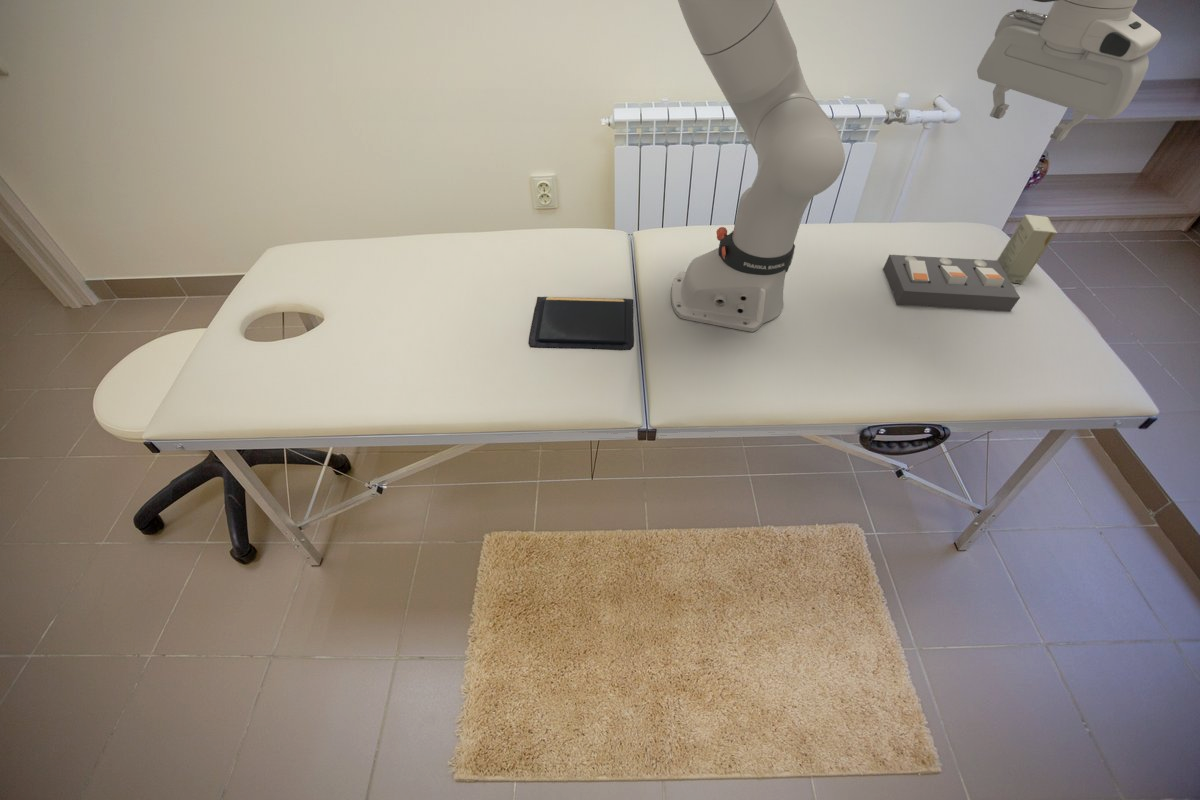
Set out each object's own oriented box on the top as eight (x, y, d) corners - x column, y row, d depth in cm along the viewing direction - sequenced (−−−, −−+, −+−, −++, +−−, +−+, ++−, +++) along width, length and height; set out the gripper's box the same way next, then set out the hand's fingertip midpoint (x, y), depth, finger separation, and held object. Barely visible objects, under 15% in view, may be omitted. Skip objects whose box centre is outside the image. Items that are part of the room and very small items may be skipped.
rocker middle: (947, 284, 113) (951, 275, 112) (937, 273, 117) (941, 264, 116) (963, 285, 113) (968, 276, 112) (953, 274, 117) (957, 265, 116)
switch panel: (896, 304, 114) (904, 290, 111) (883, 268, 122) (889, 254, 119) (1010, 311, 113) (1020, 297, 110) (988, 274, 121) (998, 260, 118)
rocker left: (908, 285, 115) (913, 279, 113) (904, 266, 117) (908, 259, 116) (925, 286, 115) (929, 280, 113) (920, 266, 117) (925, 260, 115)
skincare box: (1022, 284, 118) (1058, 233, 109) (1000, 282, 119) (1034, 231, 110) (1014, 266, 123) (1048, 215, 113) (992, 263, 123) (1025, 213, 114)
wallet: (525, 342, 105) (537, 290, 115) (526, 349, 107) (537, 297, 116) (633, 347, 104) (635, 294, 114) (633, 354, 106) (635, 302, 116)
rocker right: (983, 286, 113) (987, 277, 112) (972, 275, 117) (976, 266, 116) (1000, 287, 113) (1004, 278, 112) (988, 276, 117) (992, 267, 116)
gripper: (995, 10, 81) (951, 110, 92) (1154, 50, 70) (1083, 158, 81) (1019, 1, 83) (973, 99, 94) (1176, 38, 73) (1104, 145, 83)
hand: (1025, 127), depth 87 cm, fingers open, 8 cm apart
